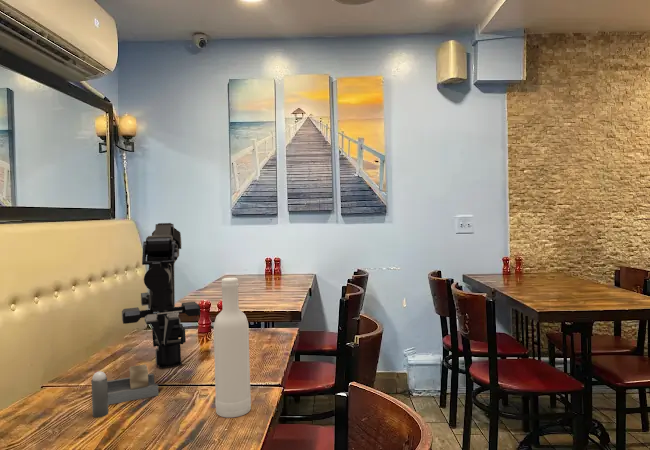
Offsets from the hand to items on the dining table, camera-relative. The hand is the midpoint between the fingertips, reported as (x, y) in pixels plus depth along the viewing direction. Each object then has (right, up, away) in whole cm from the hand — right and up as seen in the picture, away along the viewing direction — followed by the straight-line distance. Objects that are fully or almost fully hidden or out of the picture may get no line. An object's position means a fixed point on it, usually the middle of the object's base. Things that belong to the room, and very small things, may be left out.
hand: (162, 345), depth 121 cm
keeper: (-5, -10, -2) cm, 12 cm away
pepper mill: (-9, -12, -15) cm, 21 cm away
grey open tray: (-8, -11, -4) cm, 14 cm away
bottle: (+21, -11, -15) cm, 28 cm away
